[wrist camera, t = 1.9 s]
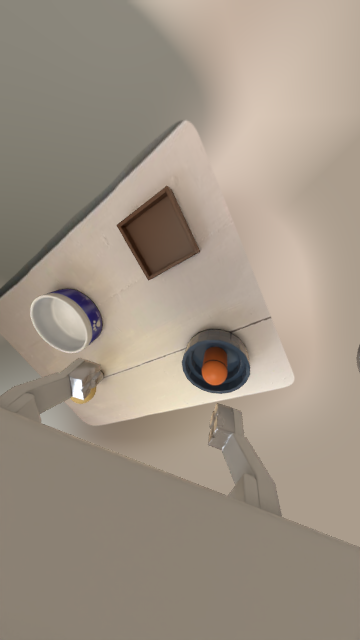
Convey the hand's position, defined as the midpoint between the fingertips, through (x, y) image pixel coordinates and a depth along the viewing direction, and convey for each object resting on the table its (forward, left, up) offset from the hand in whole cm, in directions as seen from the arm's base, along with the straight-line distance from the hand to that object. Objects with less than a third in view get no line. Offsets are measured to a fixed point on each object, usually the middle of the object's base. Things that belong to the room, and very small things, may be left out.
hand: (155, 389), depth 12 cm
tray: (+10, -7, -27) cm, 30 cm away
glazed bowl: (-7, +15, -27) cm, 32 cm away
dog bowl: (+30, +16, -27) cm, 44 cm away
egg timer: (-7, +15, -27) cm, 31 cm away
